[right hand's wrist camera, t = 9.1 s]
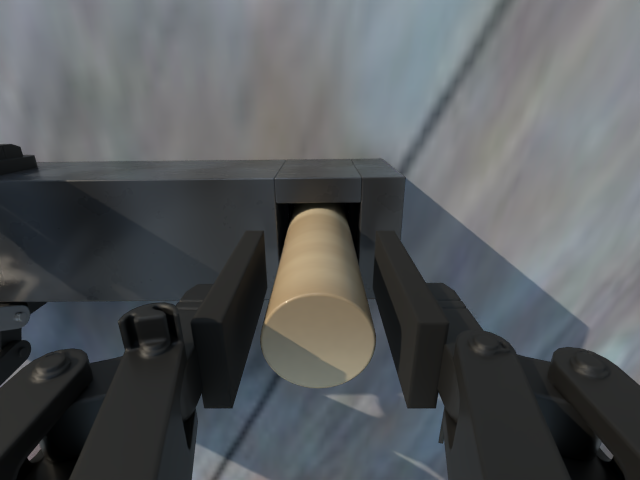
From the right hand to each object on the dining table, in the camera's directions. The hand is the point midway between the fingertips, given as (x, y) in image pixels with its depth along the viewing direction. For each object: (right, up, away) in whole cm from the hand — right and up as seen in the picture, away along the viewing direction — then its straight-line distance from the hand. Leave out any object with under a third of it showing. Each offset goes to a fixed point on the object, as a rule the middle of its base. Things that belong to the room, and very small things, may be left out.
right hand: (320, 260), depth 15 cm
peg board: (-8, +3, +8) cm, 12 cm away
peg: (0, +3, +8) cm, 8 cm away
